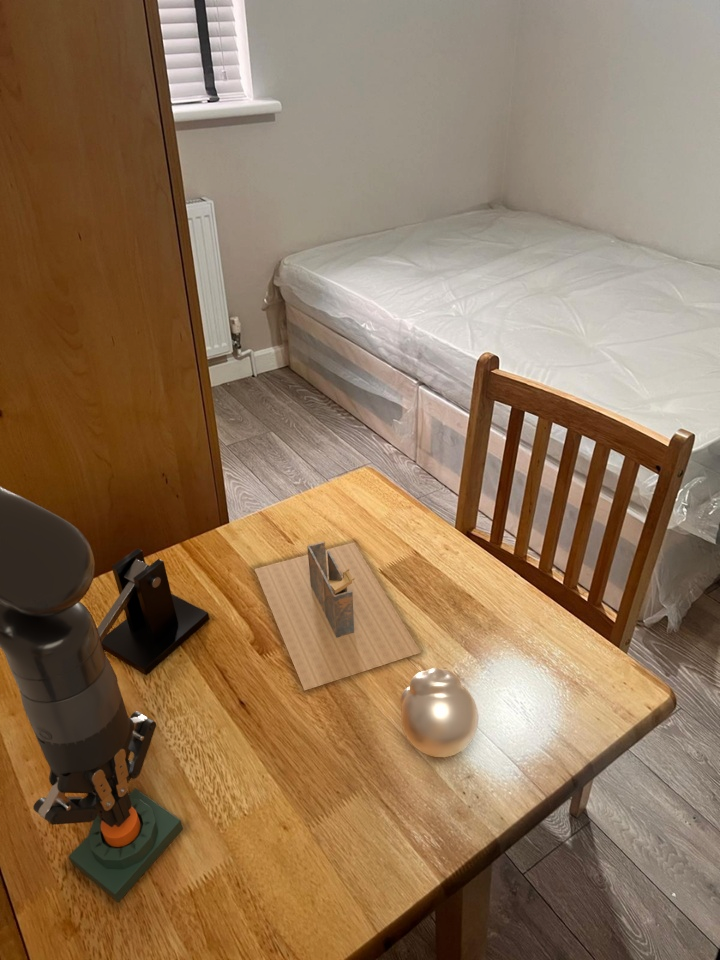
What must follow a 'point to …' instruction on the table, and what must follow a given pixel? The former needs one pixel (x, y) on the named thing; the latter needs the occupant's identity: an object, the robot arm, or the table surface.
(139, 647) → the bracket
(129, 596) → the lever
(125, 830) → the button
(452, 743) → the silver rounded lump
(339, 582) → the architectural model on board
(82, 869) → the button box
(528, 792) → the table surface
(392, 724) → the table surface
